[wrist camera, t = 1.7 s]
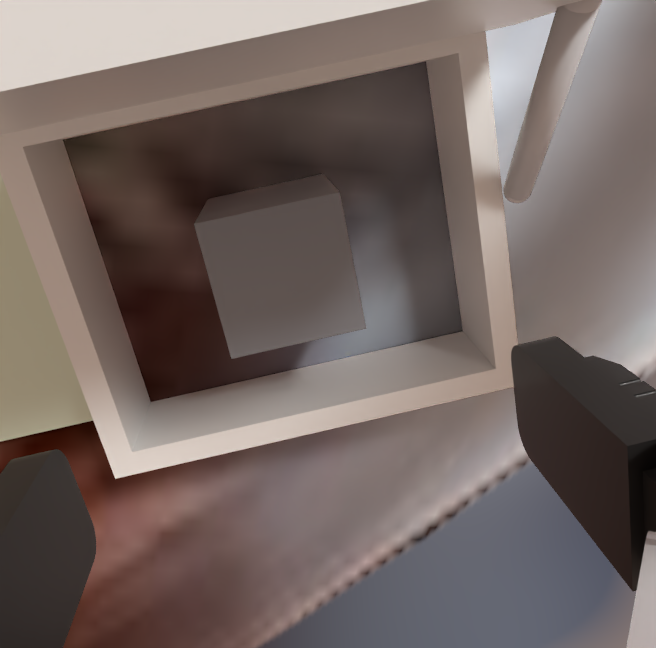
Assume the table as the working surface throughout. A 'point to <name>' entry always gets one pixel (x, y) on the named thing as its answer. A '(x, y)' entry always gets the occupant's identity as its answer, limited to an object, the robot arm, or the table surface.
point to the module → (280, 265)
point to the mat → (31, 344)
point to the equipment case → (244, 84)
